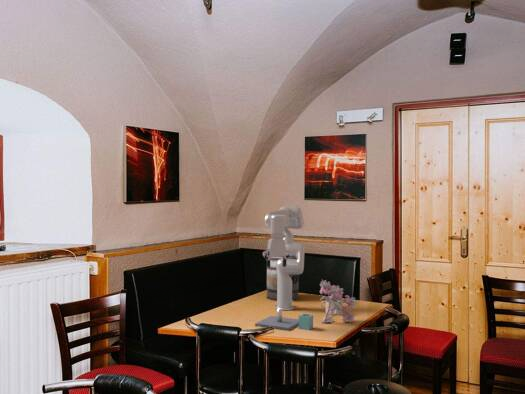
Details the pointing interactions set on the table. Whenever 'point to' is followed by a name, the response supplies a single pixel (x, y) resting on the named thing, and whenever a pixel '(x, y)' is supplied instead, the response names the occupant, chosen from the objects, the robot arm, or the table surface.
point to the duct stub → (279, 315)
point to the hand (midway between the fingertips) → (276, 266)
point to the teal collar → (305, 321)
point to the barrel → (273, 281)
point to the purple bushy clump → (328, 306)
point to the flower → (336, 302)
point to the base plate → (278, 323)
